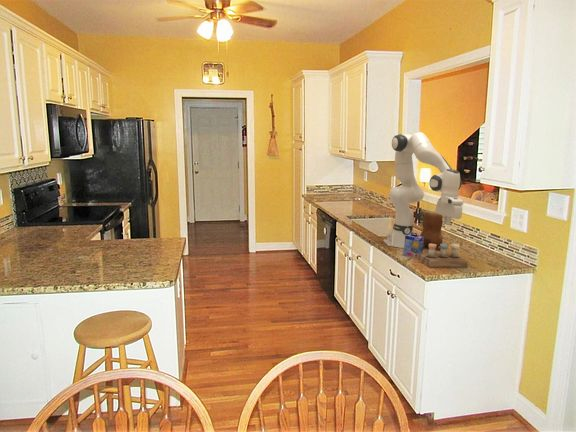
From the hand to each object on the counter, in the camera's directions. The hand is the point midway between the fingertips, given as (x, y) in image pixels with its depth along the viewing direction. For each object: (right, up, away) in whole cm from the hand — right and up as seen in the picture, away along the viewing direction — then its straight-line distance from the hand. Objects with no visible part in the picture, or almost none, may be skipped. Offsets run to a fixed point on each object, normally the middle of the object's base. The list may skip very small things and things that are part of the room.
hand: (446, 224), depth 237 cm
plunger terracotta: (-8, -18, +2) cm, 20 cm away
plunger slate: (-1, -18, +3) cm, 18 cm away
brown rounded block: (+4, -16, +41) cm, 45 cm away
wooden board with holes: (-1, -22, +4) cm, 23 cm away
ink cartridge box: (-13, -19, +19) cm, 30 cm away
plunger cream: (+6, -18, +5) cm, 20 cm away
